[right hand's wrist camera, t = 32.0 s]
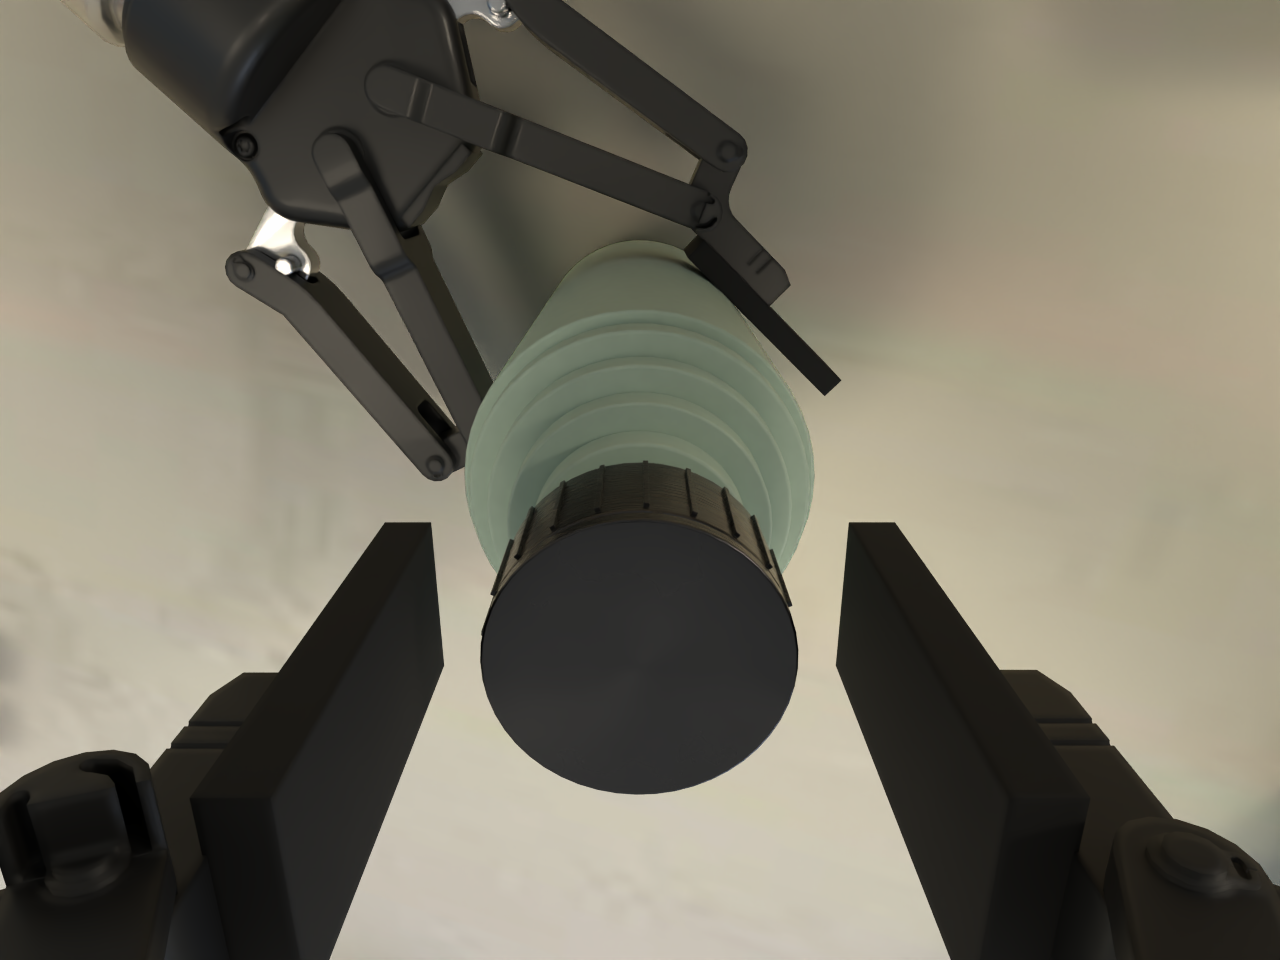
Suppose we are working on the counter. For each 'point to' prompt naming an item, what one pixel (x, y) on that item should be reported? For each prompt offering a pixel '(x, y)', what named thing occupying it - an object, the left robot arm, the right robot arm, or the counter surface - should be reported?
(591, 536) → the cap
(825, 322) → the counter surface
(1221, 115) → the counter surface
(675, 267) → the bottle
